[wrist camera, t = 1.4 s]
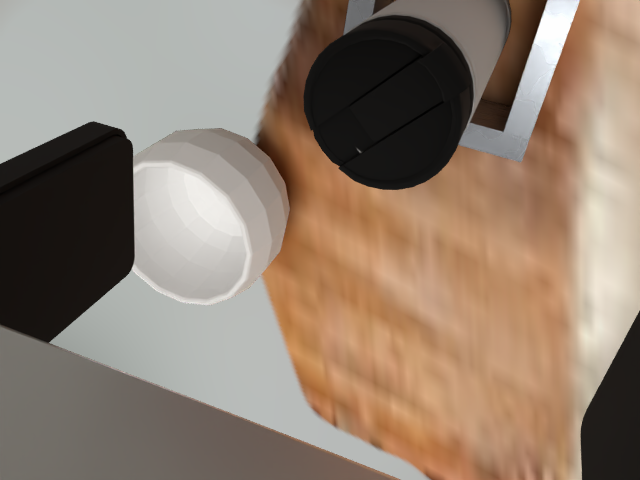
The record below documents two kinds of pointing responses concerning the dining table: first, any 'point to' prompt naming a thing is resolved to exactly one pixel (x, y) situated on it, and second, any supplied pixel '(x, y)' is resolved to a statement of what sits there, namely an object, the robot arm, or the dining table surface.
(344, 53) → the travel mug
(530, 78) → the socket block
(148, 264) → the cup
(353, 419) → the dining table surface
